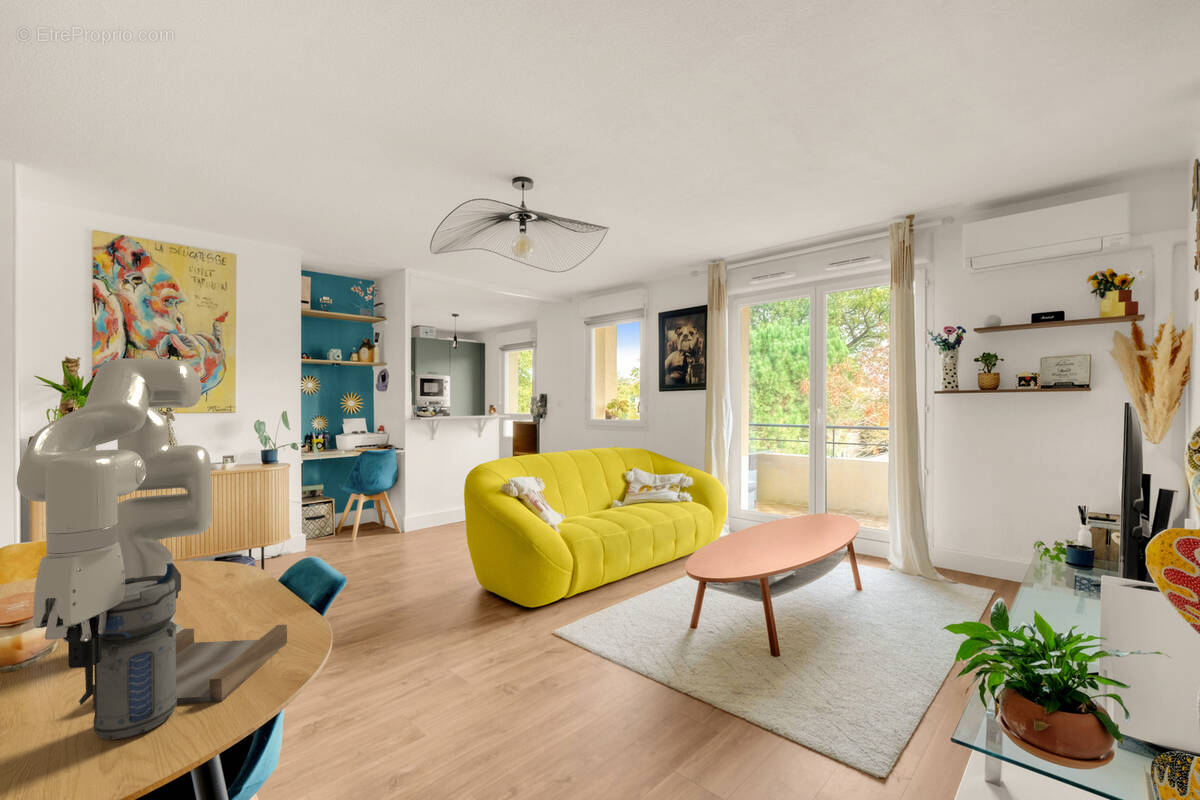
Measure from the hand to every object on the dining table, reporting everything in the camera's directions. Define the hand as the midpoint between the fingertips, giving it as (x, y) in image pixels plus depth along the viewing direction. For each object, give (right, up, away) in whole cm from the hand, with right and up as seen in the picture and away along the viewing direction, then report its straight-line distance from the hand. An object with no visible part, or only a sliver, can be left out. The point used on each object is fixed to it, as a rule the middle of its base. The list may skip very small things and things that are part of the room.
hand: (85, 664), depth 77 cm
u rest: (-2, -14, +25) cm, 28 cm away
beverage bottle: (0, -14, +8) cm, 16 cm away
